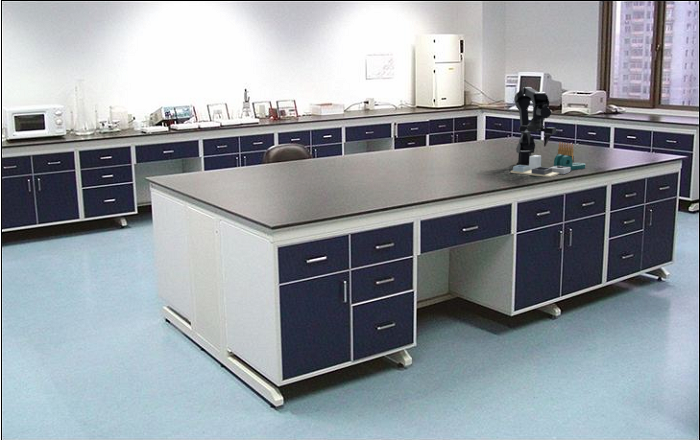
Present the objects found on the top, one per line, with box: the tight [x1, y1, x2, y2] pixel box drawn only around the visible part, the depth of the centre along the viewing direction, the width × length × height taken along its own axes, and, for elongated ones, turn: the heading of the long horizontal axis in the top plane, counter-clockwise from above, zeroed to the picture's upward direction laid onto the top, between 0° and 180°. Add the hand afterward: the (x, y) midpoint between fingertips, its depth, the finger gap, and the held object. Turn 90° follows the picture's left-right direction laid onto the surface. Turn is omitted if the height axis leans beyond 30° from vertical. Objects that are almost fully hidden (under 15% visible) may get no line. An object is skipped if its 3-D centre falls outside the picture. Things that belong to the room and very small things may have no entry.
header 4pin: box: [532, 166, 552, 175], centre depth 368 cm, size 7×9×2 cm
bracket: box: [553, 154, 586, 171], centre depth 384 cm, size 18×7×8 cm, turn 117°
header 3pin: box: [512, 164, 531, 172], centre depth 376 cm, size 6×7×2 cm
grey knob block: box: [550, 165, 572, 175], centre depth 374 cm, size 8×8×3 cm
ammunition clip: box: [556, 141, 575, 163], centre depth 398 cm, size 11×2×12 cm, turn 32°
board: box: [510, 169, 559, 178], centre depth 371 cm, size 22×10×1 cm, turn 50°
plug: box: [528, 154, 542, 170], centre depth 384 cm, size 4×7×7 cm, turn 140°
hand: (536, 145), depth 382 cm, fingers open, 9 cm apart
